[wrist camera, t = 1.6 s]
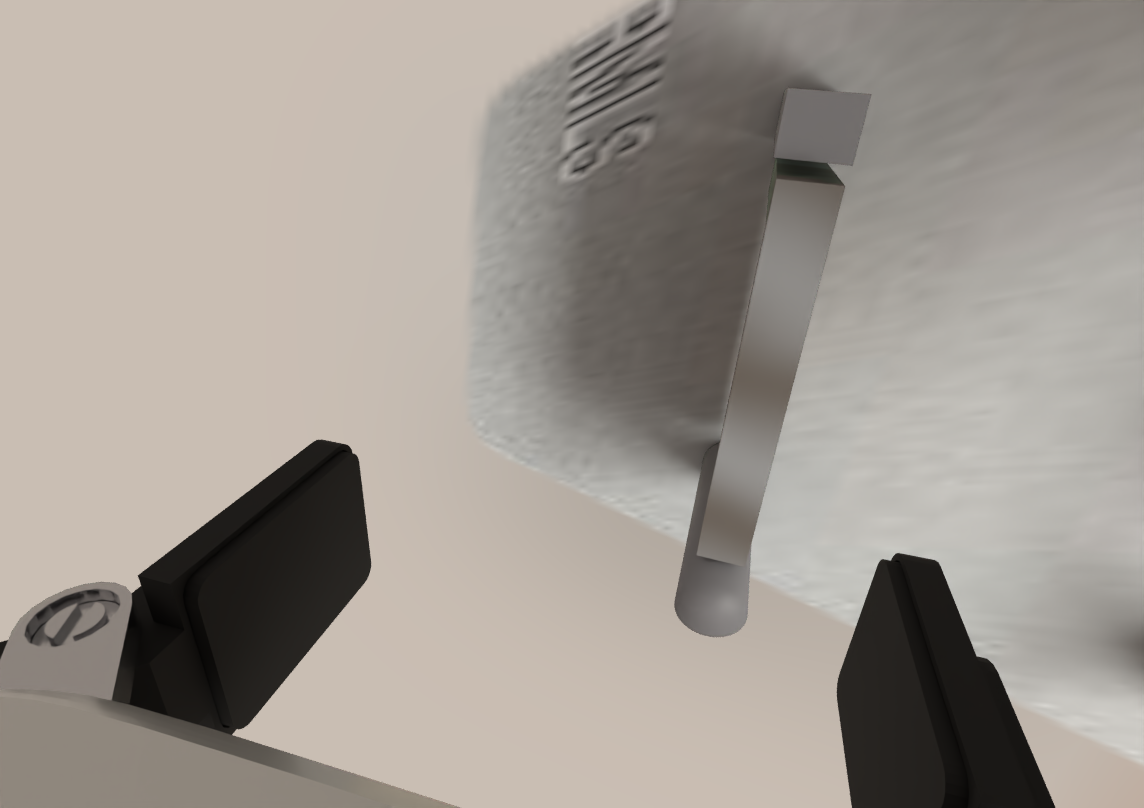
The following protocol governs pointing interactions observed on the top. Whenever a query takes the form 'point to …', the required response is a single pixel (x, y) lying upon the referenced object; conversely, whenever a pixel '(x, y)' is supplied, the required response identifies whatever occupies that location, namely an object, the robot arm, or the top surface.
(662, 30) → the top surface
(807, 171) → the gate
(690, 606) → the hinge post
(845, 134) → the post
